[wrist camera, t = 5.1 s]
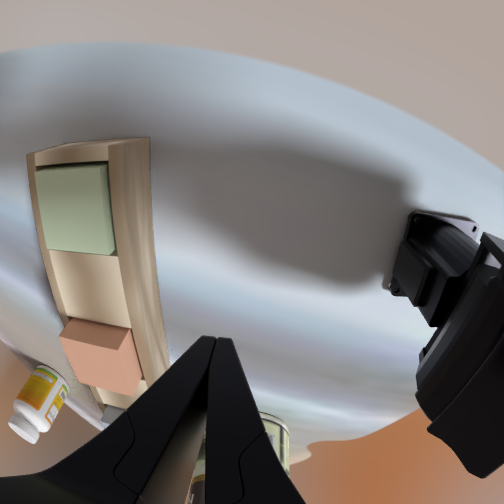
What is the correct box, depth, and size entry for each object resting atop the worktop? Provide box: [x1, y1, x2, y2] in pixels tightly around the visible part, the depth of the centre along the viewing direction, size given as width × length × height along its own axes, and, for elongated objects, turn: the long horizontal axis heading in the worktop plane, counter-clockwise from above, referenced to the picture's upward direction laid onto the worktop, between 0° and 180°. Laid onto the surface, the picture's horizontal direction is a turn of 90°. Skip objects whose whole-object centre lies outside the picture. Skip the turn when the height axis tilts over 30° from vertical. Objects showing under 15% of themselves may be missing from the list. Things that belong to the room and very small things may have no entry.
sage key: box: [35, 160, 117, 255], centre depth 17 cm, size 5×5×4 cm
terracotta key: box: [59, 317, 143, 397], centre depth 20 cm, size 5×5×4 cm
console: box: [26, 137, 171, 414], centre depth 22 cm, size 7×29×4 cm, turn 177°
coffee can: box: [188, 412, 289, 504], centre depth 24 cm, size 10×10×14 cm
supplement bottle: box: [8, 365, 69, 444], centre depth 25 cm, size 5×5×10 cm
